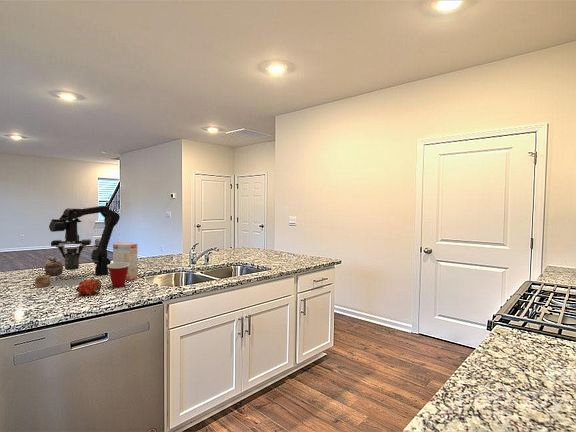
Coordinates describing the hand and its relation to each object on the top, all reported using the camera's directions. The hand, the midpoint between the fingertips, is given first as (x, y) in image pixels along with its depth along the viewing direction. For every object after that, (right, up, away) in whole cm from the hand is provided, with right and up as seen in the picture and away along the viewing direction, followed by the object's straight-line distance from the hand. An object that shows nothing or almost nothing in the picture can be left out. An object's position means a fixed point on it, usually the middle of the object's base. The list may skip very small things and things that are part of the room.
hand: (71, 257), depth 192 cm
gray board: (+1, -14, -11) cm, 18 cm away
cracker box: (+27, -13, +7) cm, 31 cm away
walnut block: (-4, -13, -17) cm, 22 cm away
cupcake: (-19, -12, +13) cm, 26 cm away
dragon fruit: (+26, -15, -27) cm, 40 cm away
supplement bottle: (0, -7, 0) cm, 7 cm away
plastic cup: (+32, -14, -10) cm, 37 cm away
